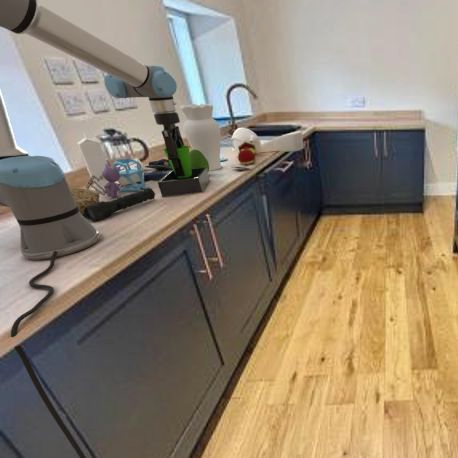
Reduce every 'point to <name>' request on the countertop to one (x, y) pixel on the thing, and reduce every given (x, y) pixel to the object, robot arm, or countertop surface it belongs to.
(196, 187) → the dark grey open box
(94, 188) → the maze
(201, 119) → the vase
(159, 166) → the race car
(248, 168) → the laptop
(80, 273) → the countertop surface
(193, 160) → the fruit
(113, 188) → the figurine
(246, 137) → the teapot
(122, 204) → the flashlight
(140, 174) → the chair
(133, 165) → the ink box
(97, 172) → the milk
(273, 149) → the shoe sole
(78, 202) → the sponge
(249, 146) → the figurine
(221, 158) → the toy
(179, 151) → the cup
